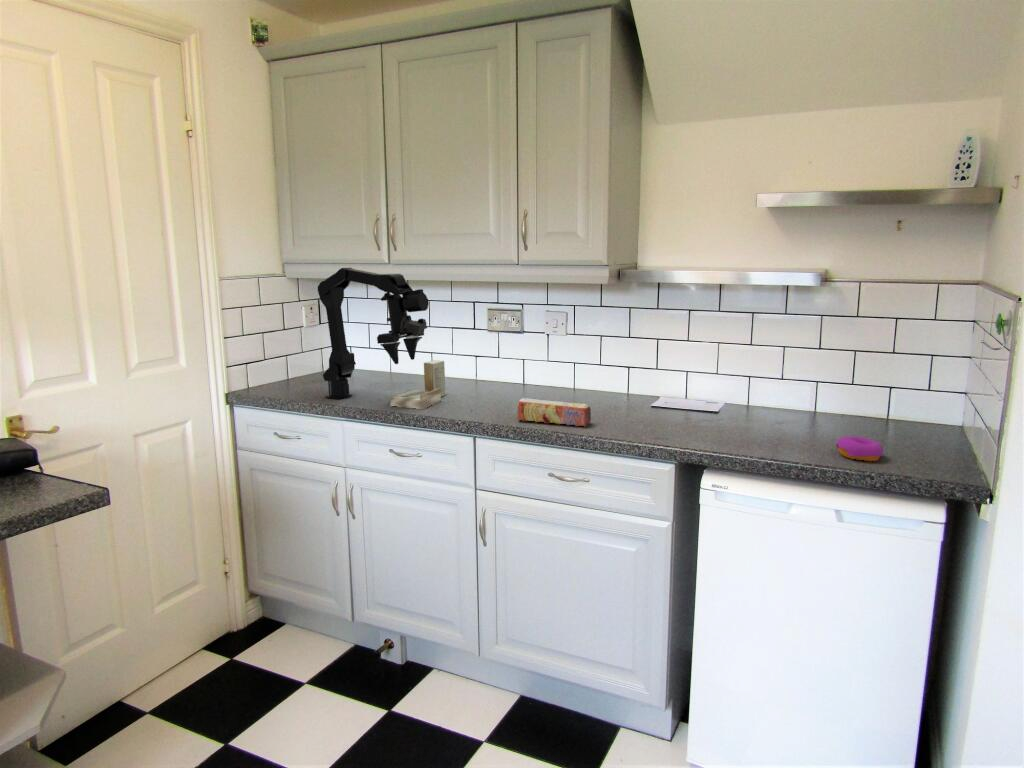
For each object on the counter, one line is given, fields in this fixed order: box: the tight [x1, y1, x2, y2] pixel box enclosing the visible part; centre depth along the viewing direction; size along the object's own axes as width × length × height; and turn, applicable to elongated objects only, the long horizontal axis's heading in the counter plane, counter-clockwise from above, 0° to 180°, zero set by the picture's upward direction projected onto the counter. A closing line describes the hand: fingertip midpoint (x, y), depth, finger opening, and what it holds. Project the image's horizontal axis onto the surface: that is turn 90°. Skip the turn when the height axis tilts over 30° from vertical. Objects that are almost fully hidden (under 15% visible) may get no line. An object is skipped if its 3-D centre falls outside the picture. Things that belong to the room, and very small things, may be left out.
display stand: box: [389, 388, 442, 410], centre depth 228 cm, size 12×12×4 cm
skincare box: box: [423, 359, 447, 397], centre depth 238 cm, size 6×4×12 cm
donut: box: [835, 436, 883, 462], centre depth 170 cm, size 10×10×5 cm
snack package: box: [517, 397, 592, 427], centre depth 203 cm, size 21×7×7 cm, turn 69°
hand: (404, 361), depth 226 cm, fingers open, 9 cm apart
